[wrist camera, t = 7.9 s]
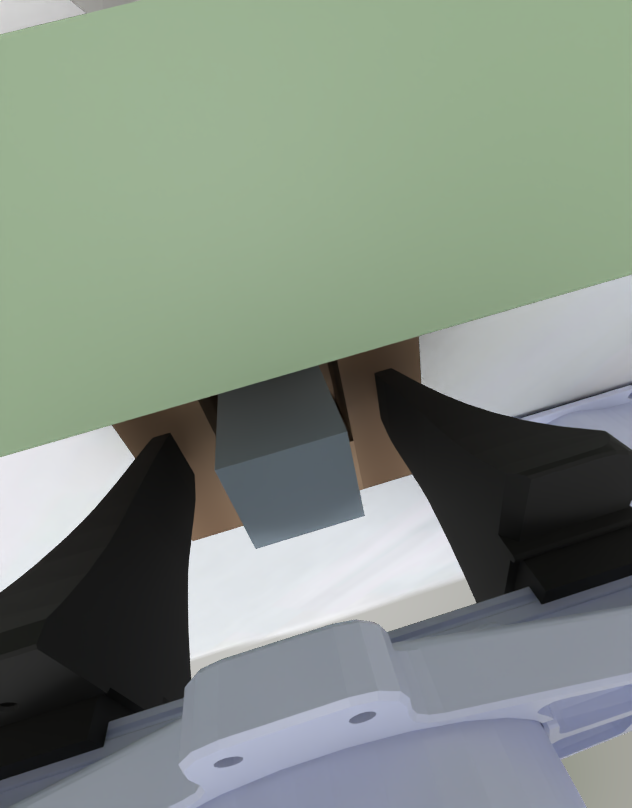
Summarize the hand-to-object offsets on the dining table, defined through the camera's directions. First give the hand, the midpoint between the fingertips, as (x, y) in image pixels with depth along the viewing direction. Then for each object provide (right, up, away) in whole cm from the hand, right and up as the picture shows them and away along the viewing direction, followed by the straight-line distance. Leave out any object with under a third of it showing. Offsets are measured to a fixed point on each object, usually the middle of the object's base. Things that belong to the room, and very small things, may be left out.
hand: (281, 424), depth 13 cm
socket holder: (-1, +4, +3) cm, 5 cm away
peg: (-1, +2, +3) cm, 4 cm away
